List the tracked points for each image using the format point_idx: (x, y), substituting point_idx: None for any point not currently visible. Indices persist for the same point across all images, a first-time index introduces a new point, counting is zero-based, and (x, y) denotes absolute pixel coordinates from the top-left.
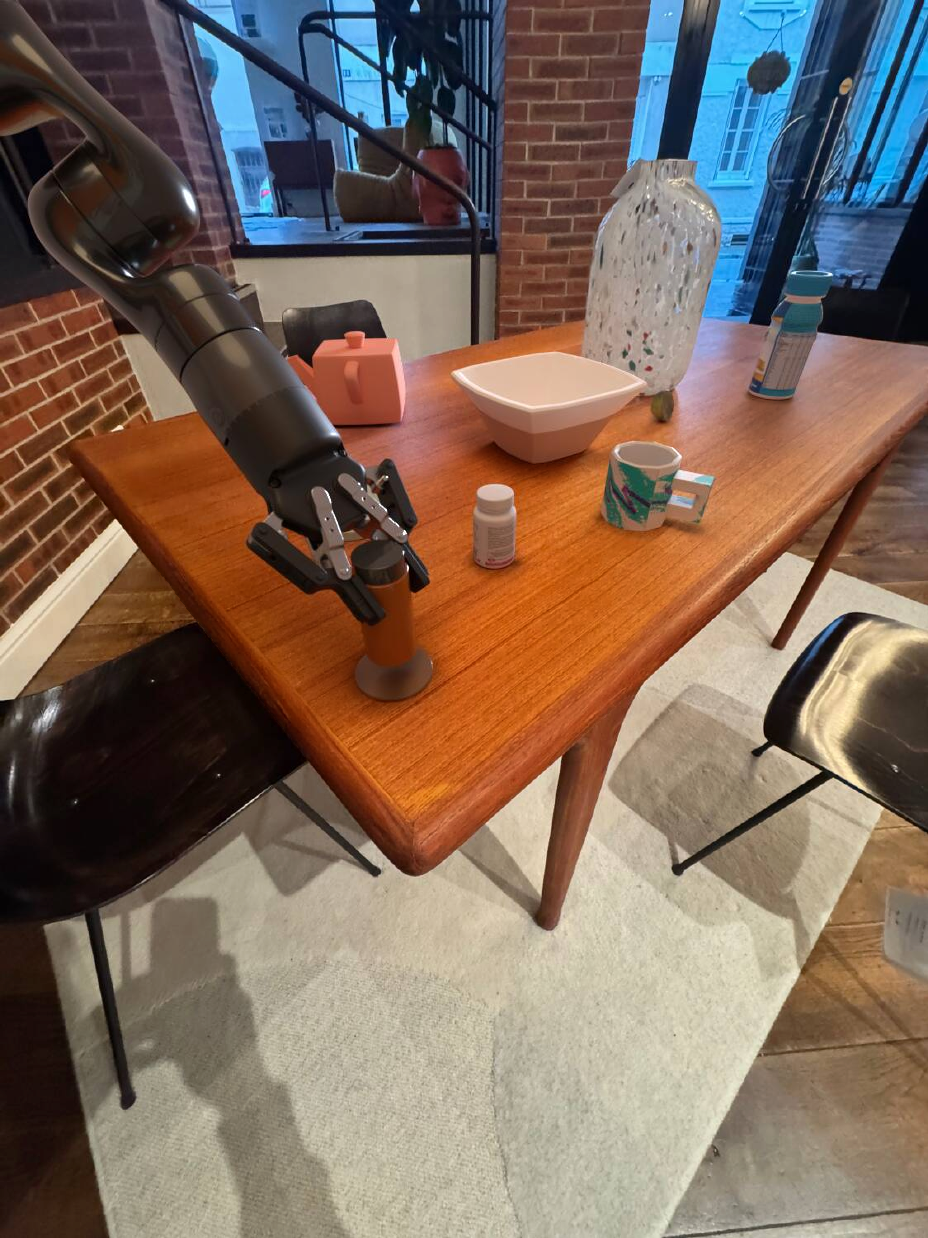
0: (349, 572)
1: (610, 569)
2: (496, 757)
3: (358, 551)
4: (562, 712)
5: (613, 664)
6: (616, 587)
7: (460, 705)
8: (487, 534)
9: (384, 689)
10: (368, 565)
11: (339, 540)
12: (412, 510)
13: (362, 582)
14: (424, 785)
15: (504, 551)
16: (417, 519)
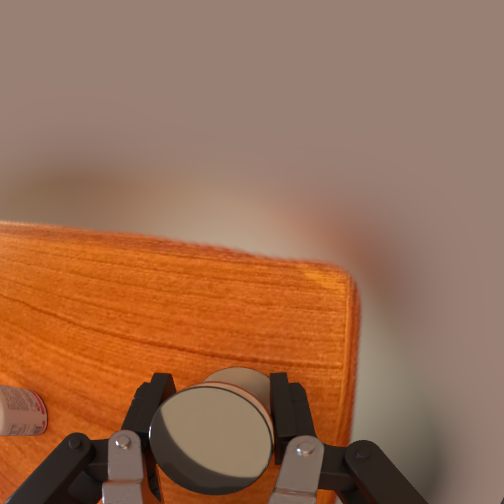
0: (295, 444)
1: (10, 298)
2: (256, 259)
3: (230, 481)
4: (179, 243)
5: (109, 238)
6: (27, 282)
7: (228, 321)
8: (15, 410)
9: (267, 398)
10: (254, 428)
11: (282, 498)
12: (58, 450)
13: (278, 422)
14: (319, 287)
15: (24, 393)
16: (68, 435)
